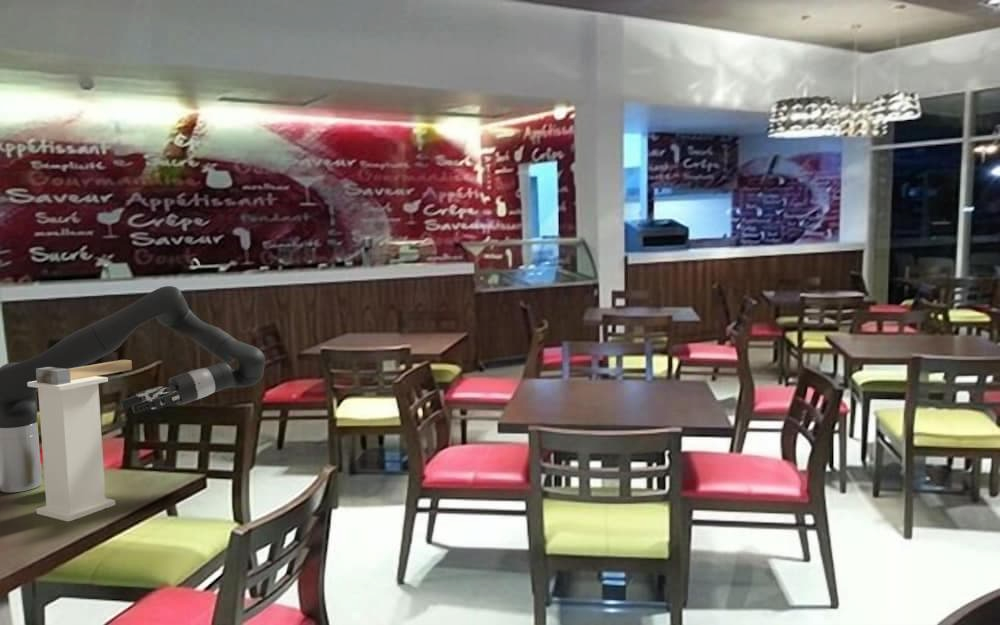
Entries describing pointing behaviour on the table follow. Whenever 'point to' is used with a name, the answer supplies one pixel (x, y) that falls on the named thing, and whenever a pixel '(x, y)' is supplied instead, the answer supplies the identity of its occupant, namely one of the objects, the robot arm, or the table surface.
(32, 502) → the table surface
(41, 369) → the hammer
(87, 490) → the stand
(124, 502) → the table surface
